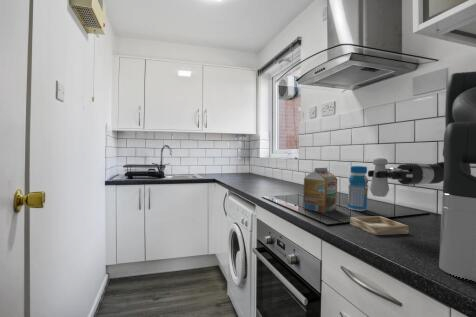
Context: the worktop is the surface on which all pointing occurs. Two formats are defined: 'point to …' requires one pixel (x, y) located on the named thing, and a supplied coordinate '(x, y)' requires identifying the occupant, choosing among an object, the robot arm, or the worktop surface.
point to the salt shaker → (379, 179)
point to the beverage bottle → (358, 189)
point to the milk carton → (320, 191)
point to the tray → (379, 225)
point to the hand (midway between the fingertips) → (372, 174)
